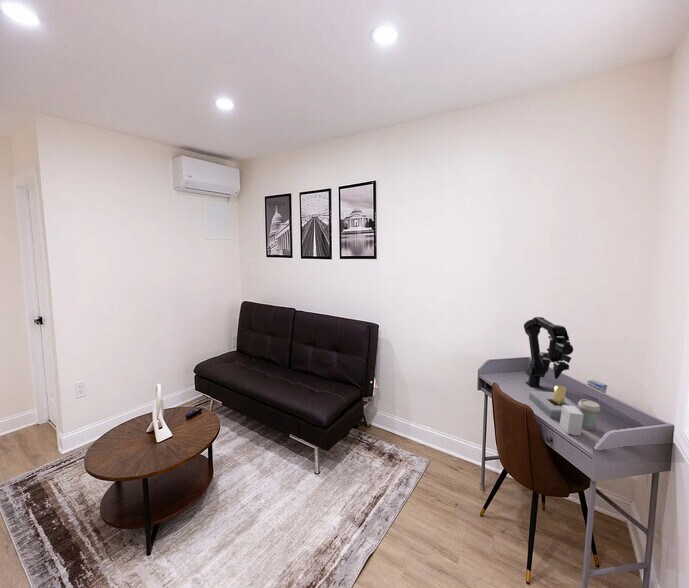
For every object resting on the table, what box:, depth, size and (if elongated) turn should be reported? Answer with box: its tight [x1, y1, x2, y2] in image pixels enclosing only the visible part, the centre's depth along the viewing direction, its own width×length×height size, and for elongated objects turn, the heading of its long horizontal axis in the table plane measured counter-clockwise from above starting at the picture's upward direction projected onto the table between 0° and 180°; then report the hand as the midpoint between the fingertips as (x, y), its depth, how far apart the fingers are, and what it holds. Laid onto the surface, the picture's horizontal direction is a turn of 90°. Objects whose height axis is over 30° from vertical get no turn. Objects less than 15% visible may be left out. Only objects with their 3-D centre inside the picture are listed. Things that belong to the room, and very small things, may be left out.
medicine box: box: [586, 379, 608, 393], centre depth 184 cm, size 8×4×9 cm, turn 23°
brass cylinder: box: [551, 384, 567, 406], centre depth 167 cm, size 5×5×13 cm
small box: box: [559, 405, 584, 436], centre depth 149 cm, size 8×6×10 cm
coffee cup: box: [577, 398, 601, 431], centre depth 153 cm, size 8×8×12 cm
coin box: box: [528, 390, 579, 420], centre depth 169 cm, size 20×16×4 cm
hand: (551, 375), depth 180 cm, fingers open, 9 cm apart
